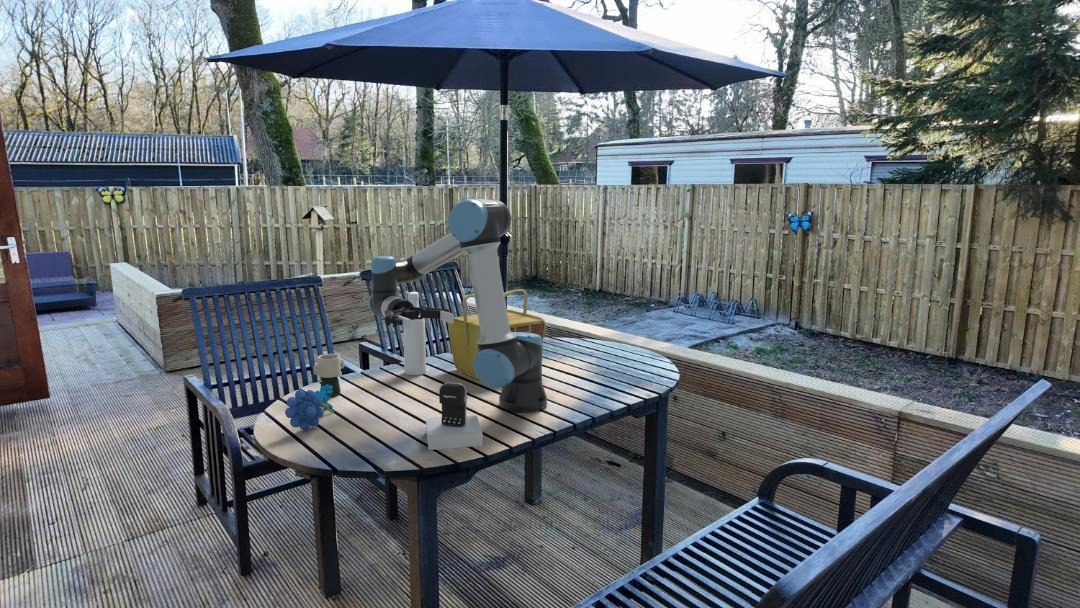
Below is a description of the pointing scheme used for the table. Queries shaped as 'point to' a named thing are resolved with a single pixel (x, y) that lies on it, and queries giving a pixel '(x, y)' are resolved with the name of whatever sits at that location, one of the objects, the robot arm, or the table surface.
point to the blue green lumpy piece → (325, 397)
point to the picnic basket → (468, 333)
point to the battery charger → (453, 404)
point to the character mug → (329, 371)
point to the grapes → (304, 409)
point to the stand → (453, 434)
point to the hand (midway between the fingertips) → (431, 321)
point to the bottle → (415, 343)
